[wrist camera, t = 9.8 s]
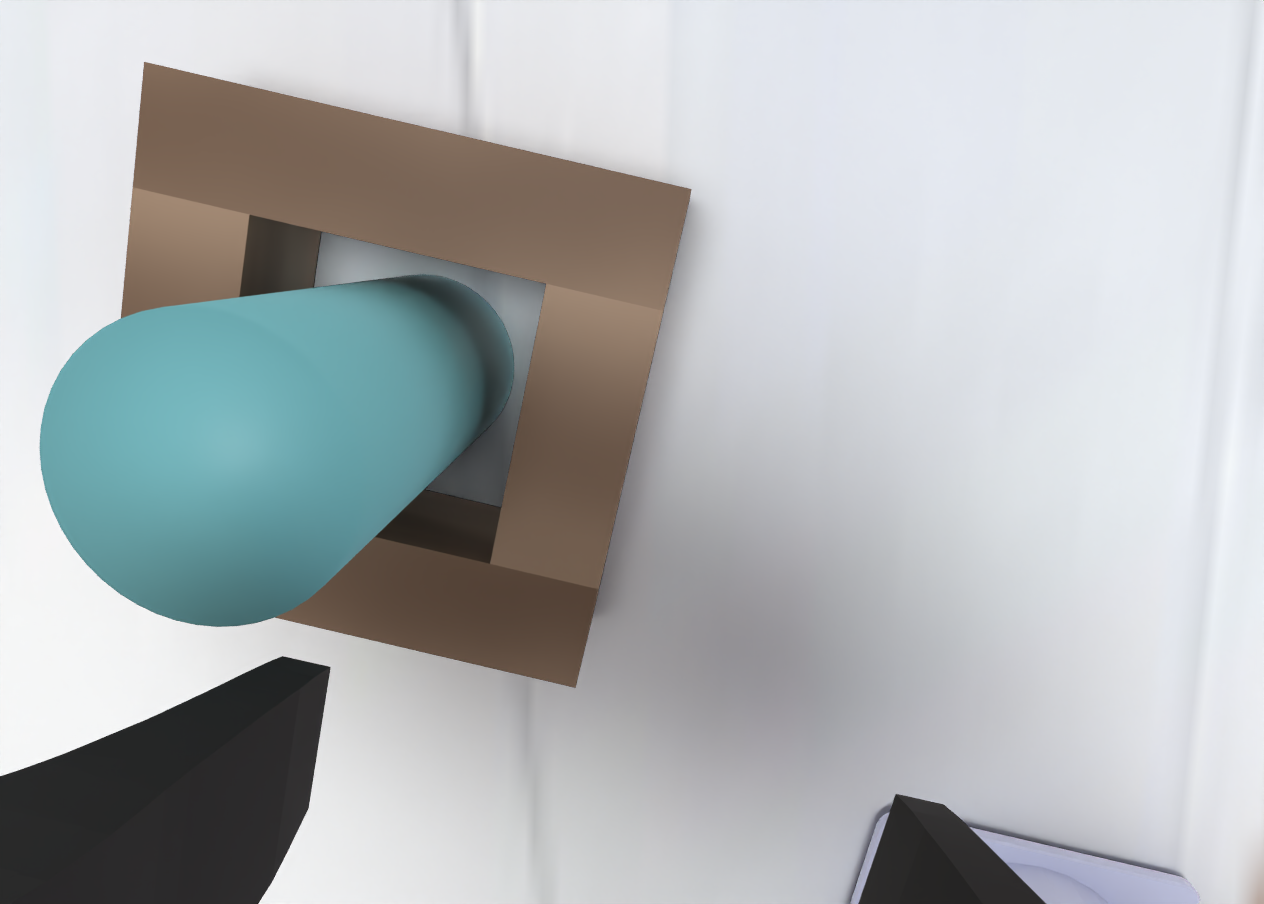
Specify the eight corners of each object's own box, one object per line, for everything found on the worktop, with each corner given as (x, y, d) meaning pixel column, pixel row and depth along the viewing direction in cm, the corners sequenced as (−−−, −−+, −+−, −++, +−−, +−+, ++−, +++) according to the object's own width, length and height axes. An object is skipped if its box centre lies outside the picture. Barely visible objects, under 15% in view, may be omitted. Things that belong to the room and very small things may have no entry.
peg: (491, 469, 21) (329, 663, 11) (325, 422, 21) (22, 577, 11) (532, 302, 20) (394, 358, 11) (359, 253, 20) (60, 265, 11)
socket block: (591, 617, 22) (575, 687, 18) (188, 524, 22) (97, 575, 19) (690, 198, 20) (691, 188, 16) (238, 92, 20) (144, 62, 16)
